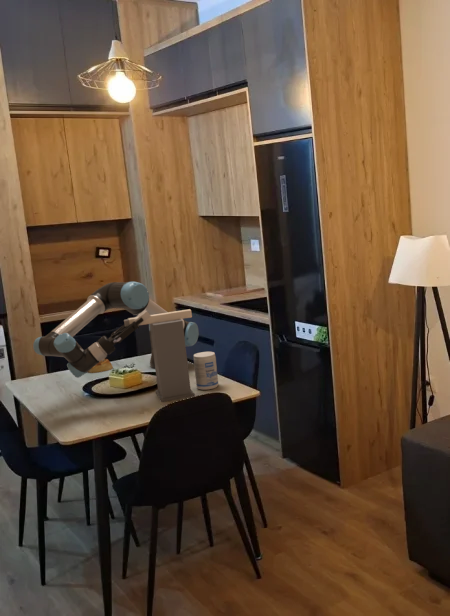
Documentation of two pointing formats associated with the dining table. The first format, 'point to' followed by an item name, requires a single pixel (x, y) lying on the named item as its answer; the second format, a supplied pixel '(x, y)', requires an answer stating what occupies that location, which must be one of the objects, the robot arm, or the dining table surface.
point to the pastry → (101, 366)
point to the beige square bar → (162, 317)
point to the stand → (170, 360)
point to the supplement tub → (205, 370)
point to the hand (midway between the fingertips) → (148, 312)
